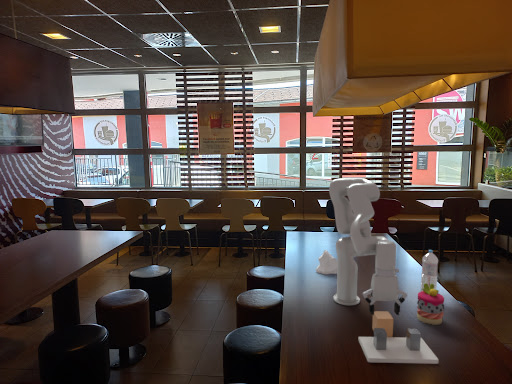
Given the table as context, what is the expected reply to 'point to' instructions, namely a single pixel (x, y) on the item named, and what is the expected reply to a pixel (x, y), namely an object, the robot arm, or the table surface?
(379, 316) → the block
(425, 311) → the cake
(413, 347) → the post
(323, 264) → the soft serve ice cream
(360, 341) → the board
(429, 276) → the water bottle
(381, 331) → the post
